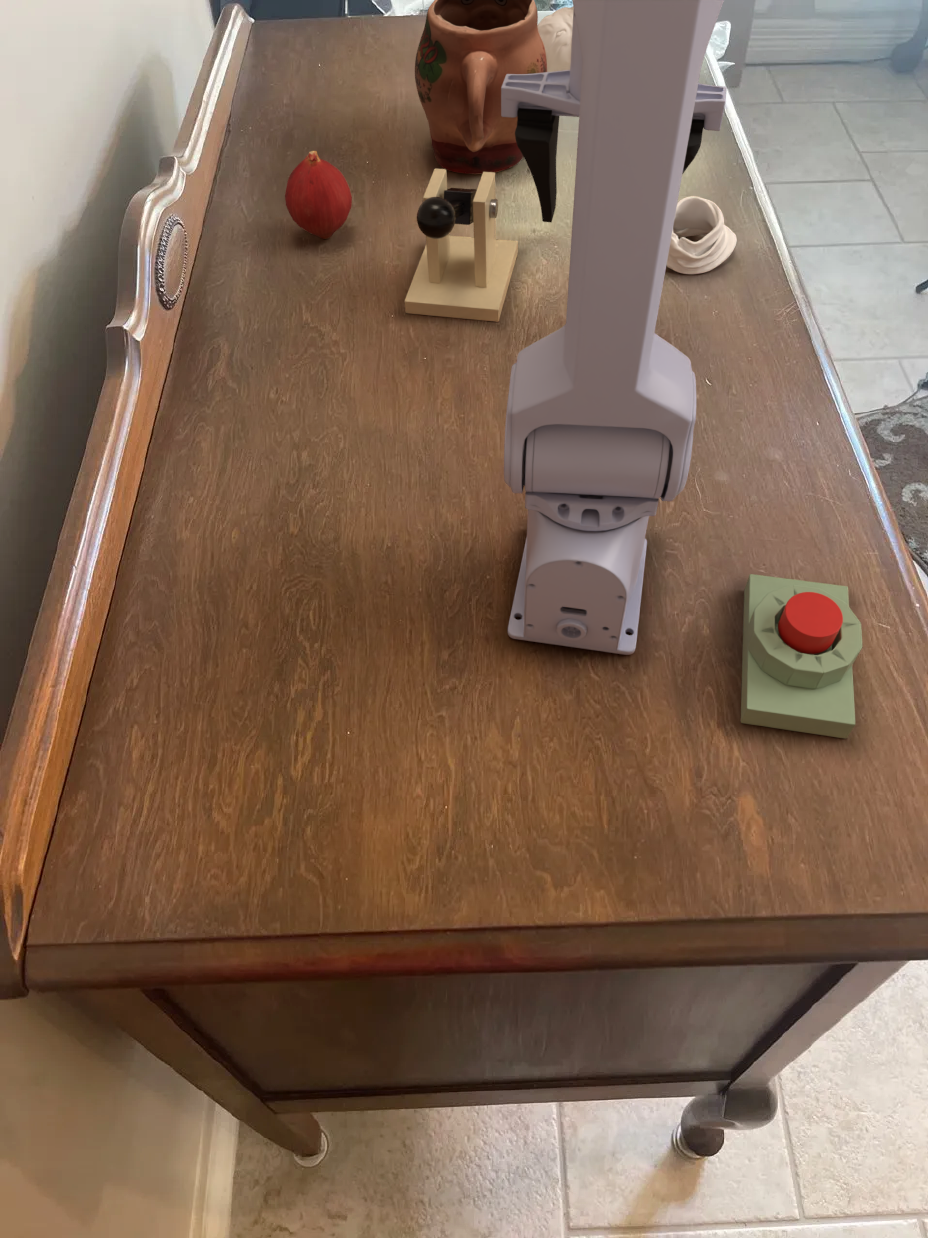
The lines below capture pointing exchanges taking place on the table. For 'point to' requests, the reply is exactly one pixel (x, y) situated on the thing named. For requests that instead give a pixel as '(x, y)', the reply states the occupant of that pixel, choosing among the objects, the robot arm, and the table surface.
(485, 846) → the table surface
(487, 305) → the beige wooden stand
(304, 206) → the red squash
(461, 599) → the table surface
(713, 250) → the beige draped scarf
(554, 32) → the bust
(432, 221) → the lever
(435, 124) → the decorative planter
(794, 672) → the button block
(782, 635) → the button
